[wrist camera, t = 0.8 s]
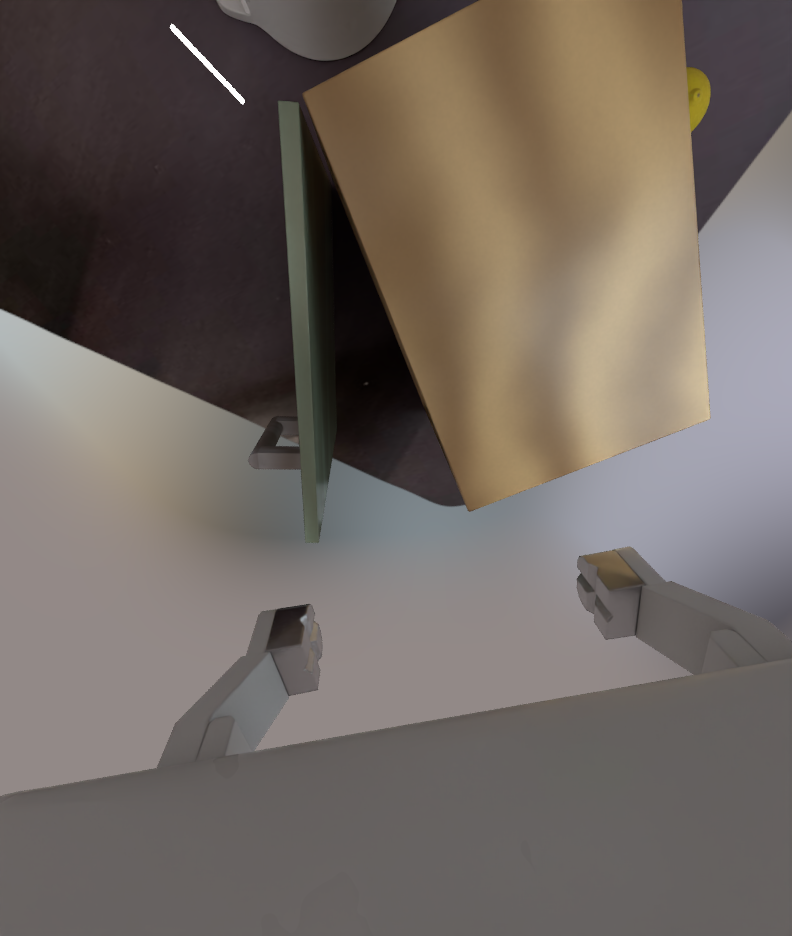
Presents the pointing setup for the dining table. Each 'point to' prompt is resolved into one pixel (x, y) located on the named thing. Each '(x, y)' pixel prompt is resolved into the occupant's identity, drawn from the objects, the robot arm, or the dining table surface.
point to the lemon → (697, 95)
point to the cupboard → (530, 229)
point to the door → (306, 321)
